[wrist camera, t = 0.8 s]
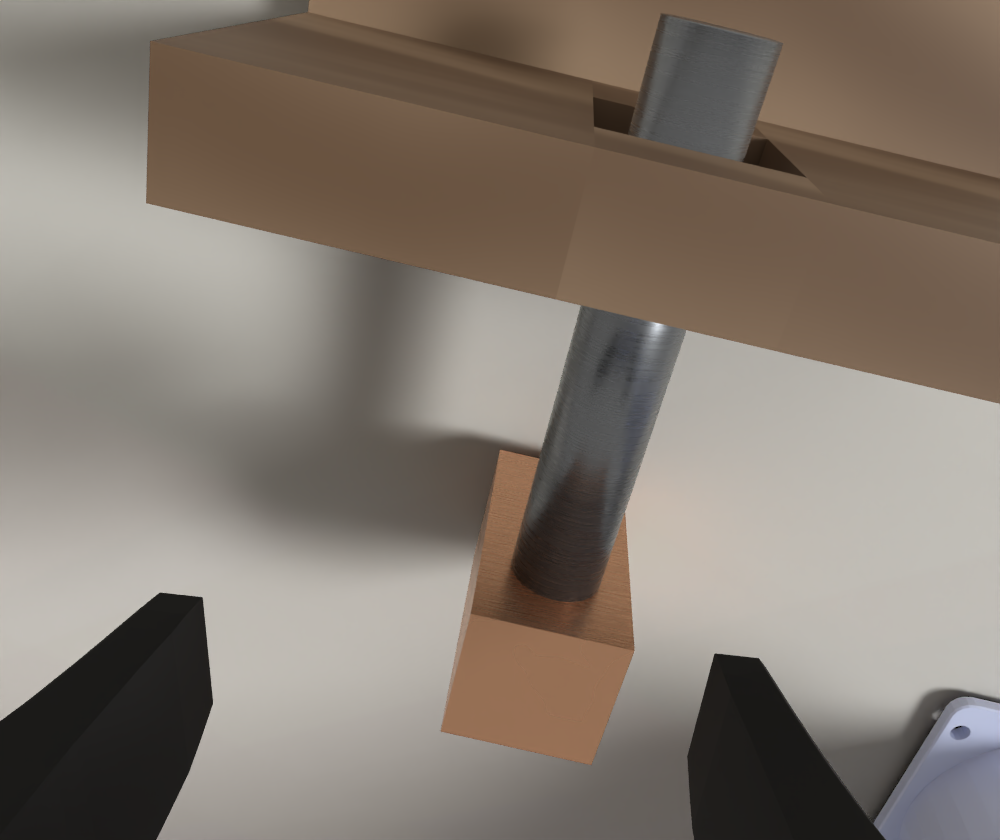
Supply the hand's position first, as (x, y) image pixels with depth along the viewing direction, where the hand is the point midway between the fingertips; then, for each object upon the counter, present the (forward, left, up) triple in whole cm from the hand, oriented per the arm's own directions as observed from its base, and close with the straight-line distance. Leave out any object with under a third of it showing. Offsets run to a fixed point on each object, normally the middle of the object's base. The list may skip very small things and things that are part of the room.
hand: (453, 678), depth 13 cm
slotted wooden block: (+8, -2, -10) cm, 13 cm away
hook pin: (+2, -2, -9) cm, 9 cm away
